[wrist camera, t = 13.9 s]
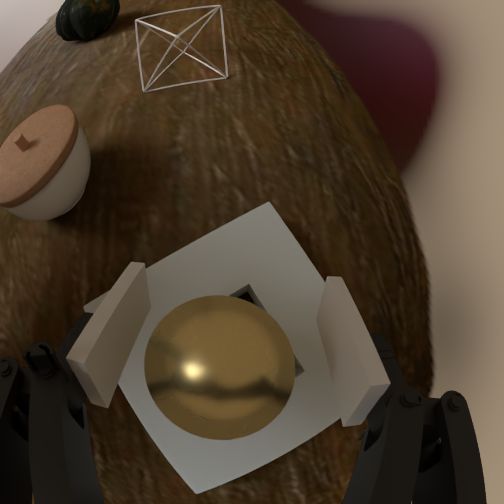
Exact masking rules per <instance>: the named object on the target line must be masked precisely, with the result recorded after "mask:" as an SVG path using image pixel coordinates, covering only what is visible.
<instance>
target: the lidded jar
mask: <svg viewBox="0 0 504 504" xmlns="http://www.w3.org/2000/svg"><path fill="white" fill-rule="evenodd" d="M90 166H91V158H90V150H89V146H88V142H87V140H86V137H85V135H84V132H83V130H82V128H81V126H80V124H79V122H78V119H77V117H76V115H75V113H74V111H73V110H72V109H71V108H70V107H68V106H65V105H53V106H49V107H46V108H44V109H42V110H40V111H38V112H36V113H34V114H33V115H31V116H30V117H28V118H27V119H26V120H25V121H23V122H22V123H21V124H20V125H19V126H18V127H17V128H16V129H15V130H14V131H13V132H12V133H11V134H10V135H9V137H8V138H7V139H6V141H5V142H4V143H3V145H2V146H1V148H0V206H2V207H4V208H5V209H7V210H8V211H9V212H11V213H13V214H14V215H16V216H18V217H20V218H22V219H26V220H29V221H36V222H40V221H47V220H51V219H54V218H56V217H58V216H61V215H63V214H65V213H67V212H68V211H70V210H71V209H72V208H73V207H74V206H75V205H76V204H77V203H78V201H79V200H80V199H81V197H82V195H83V193H84V191H85V187H86V184H87V181H88V178H89V173H90Z"/></svg>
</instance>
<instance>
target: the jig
mask: <svg viewBox="0 0 504 504" xmlns="http://www.w3.org/2000/svg"><path fill="white" fill-rule="evenodd" d="M146 276H147V284H148V291H149V297H150V304H151V309H150V311H149V313H148V315H147V317H146V319H145V322H144V324H143V326H142V328H141V330H140V333H139V335H138V337H137V339H136V342H135V344H134V346H133V348H132V351H131V353H130V355H129V358H128V360H127V362H126V365H125V367H124V369H123V372H122V374H121V377H120V379H119V382H118V384H119V386H120V388H121V390H122V391H123V393H124V395H125V397H126V398H127V400H128V402H129V404H130V405H131V407H132V409H133V410H134V412H135V413H136V415H137V417H138V418H139V420H140V421H141V423H142V424H143V426H144V428H145V429H146V431H147V432H148V433H149V435H150V436H151V438H152V439H153V441H154V442H155V444H156V445H157V446H158V448H159V449H160V450H161V452H162V453H163V455H164V456H165V457H166V459H167V460H168V461H169V462H170V464H171V465H172V466H173V468H174V469H175V470H176V471H177V472H178V474H179V475H180V476H181V477H182V479H183V480H184V481H185V482H186V483H187V484H188V486H189V487H190V488H191V489H192V490H193V491H194V492H195V493H196V494H198V493H201V492H204V491H206V490H209V489H212V488H214V487H217V486H219V485H222V484H224V483H227V482H229V481H231V480H233V479H236V478H238V477H240V476H242V475H245V474H247V473H249V472H251V471H253V470H255V469H257V468H259V467H261V466H263V465H265V464H267V463H269V462H271V461H273V460H274V459H276V458H278V457H280V456H282V455H284V454H285V453H287V452H289V451H290V450H292V449H294V448H296V447H297V446H299V445H301V444H302V443H304V442H305V441H307V440H309V439H310V438H312V437H313V436H315V435H316V434H318V433H319V432H321V431H322V430H324V429H325V428H327V427H328V426H330V425H331V424H333V423H334V422H335V421H337V420H338V419H340V418H341V416H340V412H339V407H338V403H337V399H336V395H335V391H334V387H333V383H332V378H331V375H330V371H329V367H328V363H327V359H326V355H325V351H324V347H323V344H322V340H321V336H320V333H319V329H318V325H317V322H316V318H317V314H318V310H319V306H320V303H321V299H322V295H323V291H324V287H325V282H324V280H323V279H322V277H321V276H320V274H319V273H318V271H317V270H316V268H315V267H314V265H313V264H312V262H311V261H310V259H309V258H308V256H307V255H306V253H305V252H304V251H303V249H302V248H301V246H300V245H299V243H298V242H297V240H296V239H295V237H294V236H293V235H292V233H291V232H290V230H289V229H288V227H287V226H286V225H285V223H284V222H283V220H282V219H281V217H280V216H279V215H278V213H277V212H276V210H275V209H274V208H273V206H272V205H271V203H270V202H267V203H265V204H263V205H261V206H259V207H257V208H255V209H254V210H252V211H250V212H248V213H246V214H244V215H242V216H240V217H238V218H236V219H235V220H233V221H231V222H229V223H227V224H225V225H223V226H222V227H220V228H218V229H216V230H214V231H212V232H210V233H209V234H207V235H205V236H203V237H201V238H199V239H198V240H196V241H194V242H192V243H190V244H189V245H187V246H185V247H183V248H181V249H180V250H178V251H176V252H174V253H173V254H171V255H169V256H167V257H166V258H164V259H162V260H160V261H159V262H157V263H155V264H153V265H152V266H150V267H148V268H146ZM109 291H110V290H109ZM109 291H108V292H106V293H104V294H103V295H101V296H99V297H98V298H96V299H94V300H93V301H91V302H90V303H88V304H86V305H85V306H83V308H84V311H85V313H86V312H89V313H95V311H96V310H97V308H98V307H99V305H100V304H101V303H102V301H103V300H104V298H105V297H106V295H107V294H108V293H109ZM246 292H248V293H249V295H250V297H251V298H252V300H253V301H254V303H255V305H256V306H258V307H260V308H261V309H263V310H264V311H266V312H267V313H268V314H269V315H270V316H272V317H273V318H274V320H275V321H276V322H277V323H278V324H279V325H280V327H281V328H282V329H283V331H284V332H285V334H286V336H287V338H288V339H289V342H290V344H291V347H292V350H293V354H294V358H295V367H296V368H295V381H294V386H293V390H292V393H291V396H290V398H289V400H288V402H287V404H286V406H285V407H284V408H283V410H282V411H281V413H280V414H279V415H278V416H277V417H276V418H275V419H274V420H273V421H272V422H271V423H270V424H268V425H267V426H266V427H264V428H263V429H261V430H260V431H258V432H255V433H253V434H251V435H249V436H245V437H242V438H238V439H232V440H212V439H207V438H202V437H199V436H196V435H193V434H190V433H188V432H186V431H184V430H182V429H181V428H179V427H178V426H176V425H175V424H173V423H172V422H171V421H170V420H169V419H168V418H166V416H165V415H164V414H163V413H162V412H161V411H160V410H159V408H158V407H157V405H156V404H155V402H154V400H153V399H152V397H151V395H150V392H149V390H148V387H147V383H146V379H145V372H144V357H145V352H146V347H147V344H148V341H149V339H150V337H151V334H152V332H153V331H154V329H155V328H156V326H157V325H158V323H159V322H160V321H161V320H162V319H163V318H164V316H166V315H167V314H168V313H169V312H170V311H171V310H173V309H174V308H176V307H177V306H179V305H181V304H183V303H185V302H187V301H189V300H192V299H195V298H199V297H204V296H212V295H222V296H231V297H236V298H237V297H239V296H241V295H243V294H244V293H246Z"/></svg>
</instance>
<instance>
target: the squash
mask: <svg viewBox="0 0 504 504" xmlns="http://www.w3.org/2000/svg"><path fill="white" fill-rule="evenodd" d="M119 10H120V3H119V0H65V2H64V3H63V5H62V6H61V8H60V9H59V11H58V14H57V17H56V32H57V34H58V35H59V36H61V37H62V39H63V40H65V41H73V40H76V39H80V38H83V39H86V40H87V39H91V38H93V37H94V36H95V34H96V33H101V32H103V31H104V30H105V29H107V28H108V26H109V25H110V24H111V23H112V22H113V21H114V20H115V19H116V18H117V16H118V13H119Z"/></svg>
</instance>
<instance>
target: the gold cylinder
mask: <svg viewBox="0 0 504 504" xmlns="http://www.w3.org/2000/svg"><path fill="white" fill-rule="evenodd" d="M144 372H145V379H146V383H147V387H148V390H149V392H150V395H151V397H152V399H153V400H154V402H155V404H156V405H157V407H158V408H159V410H160V411H161V412H162V413H163V414H164V415H165V416H166V418H168V419H169V420H170V421H171V422H172V423H173V424H175V425H176V426H178V427H179V428H181V429H182V430H184V431H186V432H188V433H190V434H193V435H196V436H199V437H202V438H207V439H212V440H232V439H238V438H242V437H245V436H249V435H251V434H253V433H255V432H258V431H260V430H261V429H263V428H264V427H266V426H267V425H268V424H270V423H271V422H272V421H273V420H274V419H275V418H276V417H277V416H278V415H279V414H280V413H281V411H282V410H283V408H284V407H285V406H286V404H287V402H288V400H289V398H290V396H291V393H292V390H293V386H294V381H295V358H294V354H293V350H292V347H291V344H290V342H289V339H288V338H287V336H286V334H285V332H284V331H283V329H282V328H281V327H280V325H279V324H278V323H277V322H276V321H275V320H274V318H273V317H272V316H270V315H269V314H268V313H267V312H266V311H264V310H263V309H261V308H260V307H258V306H256V305H255V304H252V303H250V302H248V301H246V300H243V299H240V298H236V297H231V296H222V295H212V296H204V297H199V298H195V299H192V300H189V301H187V302H185V303H183V304H181V305H179V306H177V307H176V308H174V309H173V310H171V311H170V312H169V313H168V314H167V315H166V316H164V318H163V319H162V320H161V321H160V322H159V323H158V325H157V326H156V328H155V329H154V331H153V332H152V334H151V337H150V339H149V341H148V344H147V347H146V352H145V357H144Z"/></svg>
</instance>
